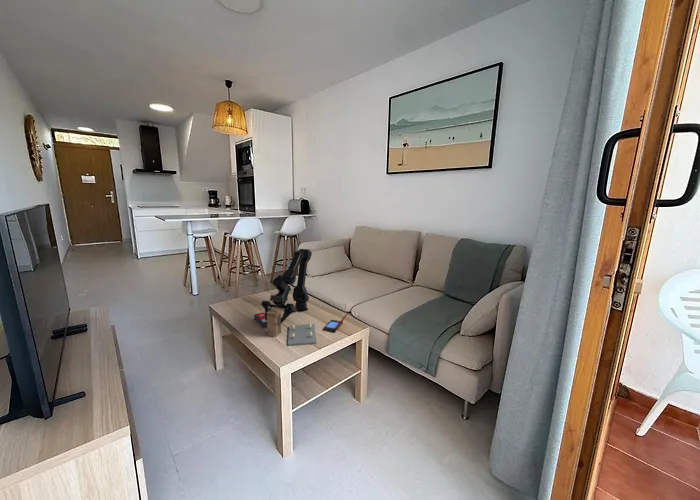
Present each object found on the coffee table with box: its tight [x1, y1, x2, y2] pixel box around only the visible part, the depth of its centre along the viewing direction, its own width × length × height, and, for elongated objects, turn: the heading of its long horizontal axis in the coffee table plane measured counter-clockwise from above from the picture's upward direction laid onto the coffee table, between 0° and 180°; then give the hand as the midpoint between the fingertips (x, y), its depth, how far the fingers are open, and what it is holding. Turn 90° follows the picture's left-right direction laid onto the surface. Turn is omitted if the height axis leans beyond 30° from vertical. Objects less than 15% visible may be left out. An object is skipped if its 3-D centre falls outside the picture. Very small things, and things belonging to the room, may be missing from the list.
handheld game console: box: [322, 312, 349, 333], centre depth 162 cm, size 12×11×7 cm
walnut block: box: [267, 308, 282, 338], centre depth 153 cm, size 5×5×13 cm
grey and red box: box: [253, 311, 283, 329], centre depth 169 cm, size 11×4×15 cm
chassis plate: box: [287, 323, 317, 347], centre depth 153 cm, size 20×14×4 cm
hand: (273, 321), depth 153 cm, fingers open, 9 cm apart
